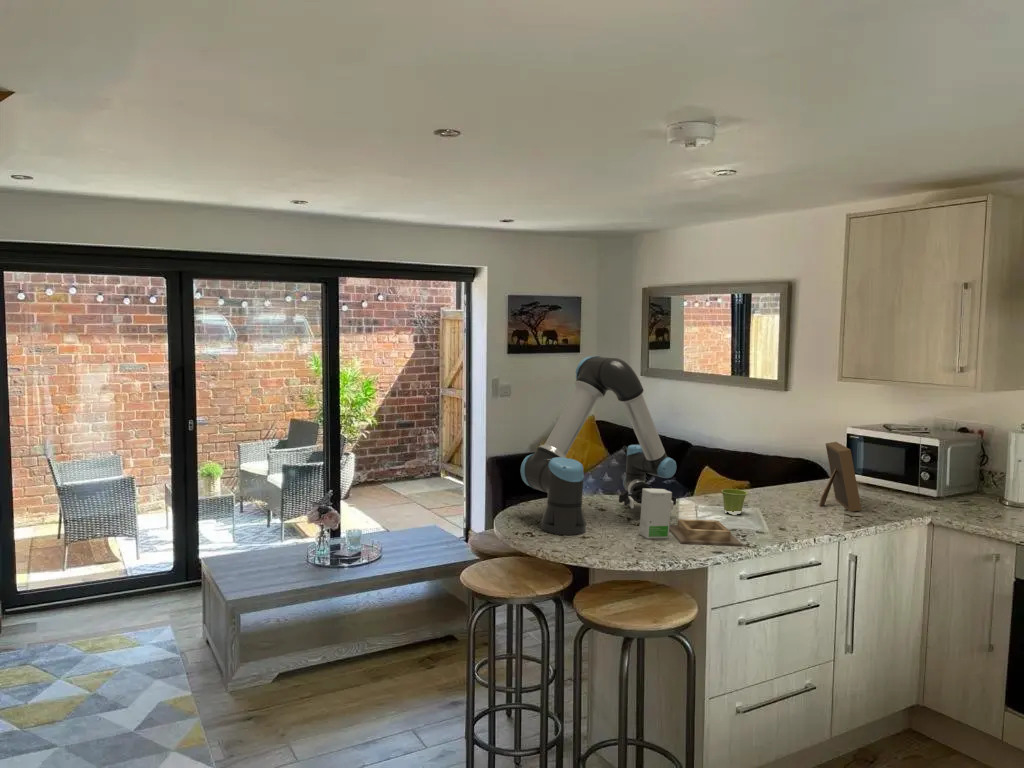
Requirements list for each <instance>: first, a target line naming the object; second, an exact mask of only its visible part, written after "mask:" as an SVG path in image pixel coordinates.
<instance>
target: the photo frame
mask: <svg viewBox="0 0 1024 768" xmlns="http://www.w3.org/2000/svg"><path fill="white" fill-rule="evenodd" d="M825 449H826V454H827V460H828V465H829V471H830V478H829V480H828V482H827V484H826V486H825V488H824V490H823V493H822V495H821V497H820V502H819V505H818V506H819V507H823V506H825V503H826V501H827V498H828V496H829V493H830V490H831V488H832V487H833V492H834V498H835V500H836V502H838V503H839V504H840V505H841V506H843V507H844V508H845V509H846V510H847V511H849V512H850V513H851V512H858V511H862V505H861V499H860V494H859V490H858V484H857V477H856V472H855V467H854V461H853V456H852V450H851V449H850V448H848V447H846V446H845V445H843V444H841V443H839V442H838V441H833V442H827V443H826V442H825Z"/></svg>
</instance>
